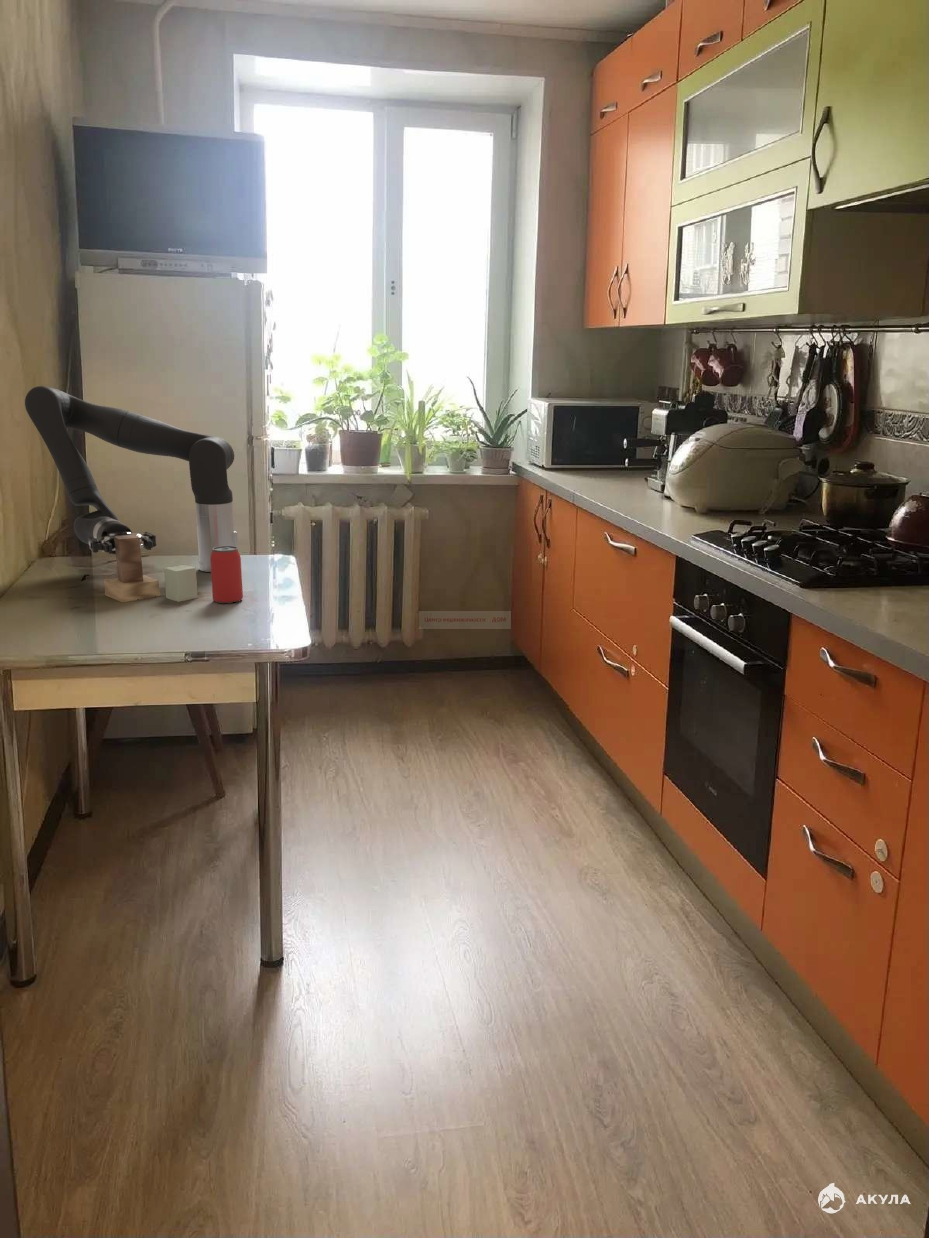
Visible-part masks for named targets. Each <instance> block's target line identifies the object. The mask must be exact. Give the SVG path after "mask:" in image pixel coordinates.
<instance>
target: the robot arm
mask: <svg viewBox="0 0 929 1238" xmlns="http://www.w3.org/2000/svg"><path fill="white" fill-rule="evenodd" d="M24 407H25V410H26V413H27V416H28V417H29V418H30V420H31V422H32V423H33V425H34V427H35V428H36V430H37V431H38V433H39V435H40V437H41V438H42V440H43V442H44V444H45V445H46V448H47V449H48V451H49V453H50V456H51V457H52V460H53V461H54V463H55V466H56V468H57V470H58V473H59V475H60V477H61V480H62V482H63V483H62V484H63V485H64V487H65V490H66V493H67V495H68V498H69V500H70V502H71V503H72V505H74V506H76V507H82V506H91V507H93V508H95V509H96V510H94V511H91V512H89V513H85V514H82V515H79V516H77V518H75V520H74V522H73V530H74V534H75V536H77V538H78V540H79V541H81V542H82V543H84V544H87V545H88V548H89V550H90V551H91V552H92V553H96V554H97V553H98V552H99V551H101V552H102V553H107V554H108V555H115V556H116V551H115V541H114V536H123V535H133V534H134V535H136V536H138V537H139V538H140V549H142V548H144V549H145V550H147V551H151V550H152V549H153V548H155V547H156V546H157V540H156V539H157V535H155V534H153V533H151V532H148V531H145V532H143V534H141V533H135V532H132V530H131V528H130V527H129V526H128V525H126V524H124V523H123V522H121V521H119V519H118V517H117V516H116V514H115V512H114V511H113V510H112V509H111V508H110V507H109V505H108V504H107V503H106V501H105V499H104V498H103V496H102V494H101V493H100V491H99V489H98V486H97V483H96V482H95V479H94V477H93V475H92V472H91V470H90V468H89V466H88V464H87V463H86V461H85V458H84V457H83V456H82V454H81V452H80V451H79V450H78V448H77V447H76V445H75V444H74V442H73V440H72V438H71V437H70V434H69V432H68V430H67V429H72V430H76V431H79V432H80V431H81V432H84V433H86V434H87V433H88V434H90V435H92V436H94V437H97V438H98V439H100V440H102V441H104V442H106V443H108V444H111V445H114V446H116V447H119V448H122V449H125V450H129V451H133V452H136V453H141V454H146V455H154V456H163V457H170V458H176V459H180V460H183V461H186V462H188V466H189V467H188V468H189V477H190V486H191V491H192V494H193V496H194V502H195V503H194V504H195V518H196V519H195V521H196V532H197V533H196V534H197V535H196V536H197V549H198V552H197V553H198V565H199V570H200V571H201V572H207V573H211V562H210V558H211V554H212V551H213V550H212V549H213V548H214V547H219V546H235V547H237V548H238V549H237V550H238V551H239V541H238V540H239V537H238V532H237V531H236V530H235V519H234V515H235V514H234V503H233V501H234V500H233V499H234V498H233V492H232V491H233V490H231V488H230V486H229V483H228V471H227V470H228V469H229V468H231V466H232V465H233V464H234V461H235V452H234V449H233V447H232V445H231V444H230V443H229V441H227V440H226V439H224V438H222V437H220V436H215V435H208V434H203V433H199V432H194V431H189V430H185V429H183V428H178V427H176V426H173V425H171V424H169V423H166V422H164V421H160V420H158V419H155V418H152V417H149V416H146V415H143V414H139V413H138V412H137V413H136V412H133V411H130V410H126V409H122V408H118V407H111V406H105V405H98V404H95V403H91V402H88V401H85V400H83V399H80V398H78V397H76V396H73V395H71V394H69V393H67V392H64V391H62V390H60V389H57V388H54V387H51V386H46V385H37V386H35V387H32V388H31V389H30V390H29V391H28V392H27V393H26V396H25V398H24ZM142 542H143V543H142Z"/></svg>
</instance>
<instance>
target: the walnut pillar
mask: <svg viewBox="0 0 929 1238" xmlns="http://www.w3.org/2000/svg"><path fill="white" fill-rule="evenodd" d="M114 541H115V551H116V555H115V558H116V561H115V562H116V570H117V578H118V580H120V581H121V582H122V583H129V582H138V581H143V575H144V572H143V563H142V552H141V551H142V550H141V549H142V548H140V538H139V537H138V536H136V535H134V534H133V535H123V536H114Z"/></svg>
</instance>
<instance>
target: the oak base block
mask: <svg viewBox="0 0 929 1238" xmlns="http://www.w3.org/2000/svg"><path fill="white" fill-rule="evenodd" d="M103 583H104V584H103V586H104V595H105V596H106V597H109V598H111V599H113V600H116V601H118V602H120V603H126V602H132V601H138V600H137V599H139V600H144V598H145V599H149V598H155V596H156V597H160V596H161V591H160V582H159V579H155V578H153V577H150V576H148V575H145V574H143V581H138V582H129V583H122V582H121V581H120V580H118V577H113V578H106V579H103Z"/></svg>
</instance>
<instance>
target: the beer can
mask: <svg viewBox="0 0 929 1238" xmlns="http://www.w3.org/2000/svg"><path fill="white" fill-rule="evenodd" d="M237 549H238V550H237ZM212 550H213V551H212V554H211V558H210V562H211V572H210V577H211V591H212V600H213V602H215V603H217V602H218V604H223V603H229V604H234V603H233V602H236V603H239V602H241V601H242V600H243V598H244V593H243V579H242V578H243V575H242V574H243V573H242V557H241V554H240V551H239V547H238V548H237V547H235V546H219V547H214V548H213V549H212ZM240 600H241V601H240Z"/></svg>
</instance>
